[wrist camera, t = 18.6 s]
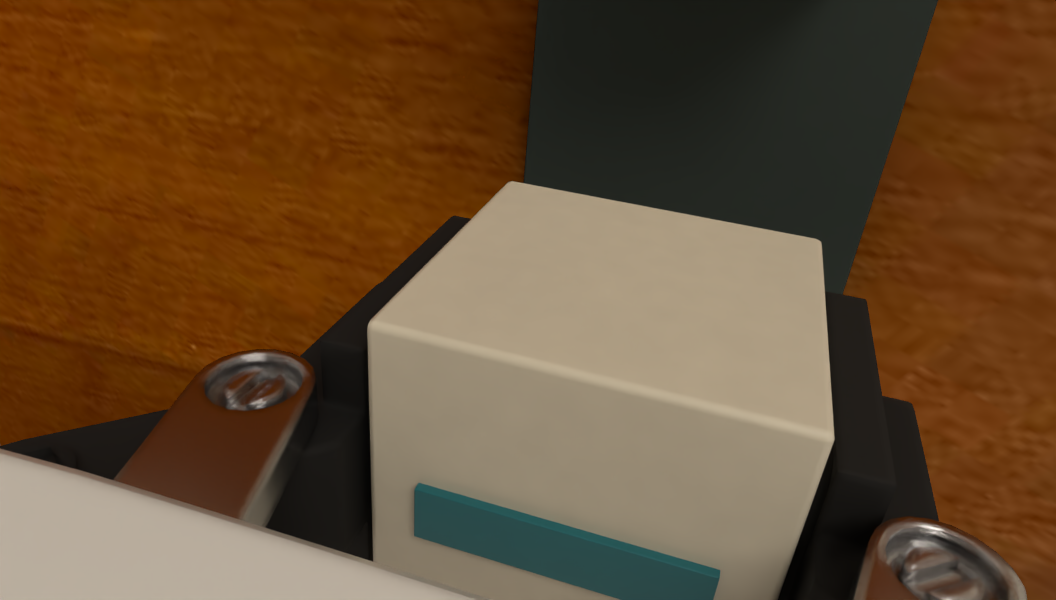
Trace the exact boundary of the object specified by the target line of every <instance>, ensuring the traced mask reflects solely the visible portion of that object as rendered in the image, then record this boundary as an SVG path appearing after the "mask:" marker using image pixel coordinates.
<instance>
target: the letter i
mask: <svg viewBox="0 0 1056 600" xmlns="http://www.w3.org/2000/svg"><path fill="white" fill-rule="evenodd" d="M367 338H368V377H369V417H370V456H371V495H372V535H373V562H376V563H379V564H382V565H385V566H388V567H391V568H395V569H398V570H401V571H404V572H407V573H410V574H413V575H417V576H420V577H423V578H426V579H429V580H432V581H435V582H439V583H442V584H445V585H448V586H451V587H454V588H457V589H460V590H464V591H467V592H470V593H473V594H476V595H479V596H482V597H485V598H489V599H492V600H778V597H779V594H780V591H781V589H782V586H783V583H784V580H785V577H786V575H787V572H788V569H789V566H790V563H791V561H792V558H793V555H794V552H795V549H796V546H797V544H798V541H799V538H800V535H801V532H802V530H803V527H804V524H805V521H806V518H807V516H808V513H809V510H810V507H811V504H812V502H813V499H814V496H815V493H816V490H817V488H818V485H819V482H820V479H821V476H822V473H823V471H824V468H825V465H826V462H827V459H828V457H829V454H830V451H831V448H832V445H833V443H834V440H835V437H834V422H833V407H832V392H831V377H830V362H829V346H828V331H827V316H826V301H825V286H824V271H823V256H822V244H821V241H819V240H817V239H814V238H809V237H804V236H799V235H793V234H788V233H783V232H777V231H772V230H767V229H762V228H756V227H751V226H746V225H741V224H735V223H730V222H725V221H720V220H714V219H709V218H704V217H698V216H693V215H688V214H683V213H677V212H672V211H667V210H662V209H656V208H651V207H646V206H641V205H635V204H630V203H625V202H620V201H614V200H609V199H604V198H598V197H593V196H588V195H583V194H577V193H572V192H567V191H562V190H556V189H551V188H546V187H541V186H535V185H530V184H525V183H519V182H514V181H511V182H508V183H507V184H506V185H505V186H504V187H503V188H502V189H501V190H500V191H499V192H498V193H497V194H496V195H495V196H494V197H493V198H492V199H491V200H490V201H489V202H488V203H487V204H486V205H485V206H484V207H483V208H482V209H481V210H480V211H479V212H478V213H477V214H476V215H475V216H474V217H473V218H472V219H471V220H470V221H469V222H468V223H467V224H466V225H465V226H464V227H463V228H462V229H461V230H460V231H459V232H458V233H457V234H456V235H455V236H454V237H453V238H452V239H451V240H450V241H449V242H448V243H447V244H446V245H445V246H444V247H443V248H442V249H441V250H440V251H439V252H438V253H437V254H436V255H435V256H434V257H433V258H432V259H431V260H430V261H429V262H428V263H427V264H426V265H425V266H424V267H423V268H422V269H421V270H420V271H419V272H418V273H417V274H416V275H415V276H414V277H413V278H412V279H411V280H410V281H409V282H408V283H407V284H406V285H405V286H404V287H403V288H402V289H401V290H400V291H399V292H398V293H397V294H396V295H395V296H394V297H393V298H392V299H391V300H390V301H389V302H388V303H387V304H386V305H385V306H384V307H383V308H382V309H381V310H380V311H379V312H378V313H377V314H376V315H375V316H374V317H373V318H372V319H371V320H370V322H369V324H368V328H367Z"/></svg>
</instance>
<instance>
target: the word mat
mask: <svg viewBox="0 0 1056 600" xmlns="http://www.w3.org/2000/svg"><path fill="white" fill-rule="evenodd" d="M937 2H938V0H539V2H538V14H537V26H536V38H535V51H534V63H533V75H532V87H531V100H530V112H529V124H528V136H527V148H526V161H525V173H524V183H525V184H530V185H535V186H541V187H546V188H551V189H556V190H562V191H567V192H572V193H577V194H583V195H588V196H593V197H598V198H604V199H609V200H614V201H620V202H625V203H630V204H635V205H641V206H646V207H651V208H656V209H662V210H667V211H672V212H677V213H683V214H688V215H693V216H698V217H704V218H709V219H714V220H720V221H725V222H730V223H735V224H741V225H746V226H751V227H756V228H762V229H767V230H772V231H777V232H783V233H788V234H793V235H799V236H804V237H809V238H814V239H817V240H819V241H821V244H822V256H823V271H824V286H825V291H826V292H831V293H836V294H841V295H842V294H843V291H844V288H845V285H846V282H847V279H848V276H849V273H850V270H851V266H852V263H853V260H854V257H855V254H856V251H857V248H858V245H859V242H860V239H861V236H862V233H863V230H864V226H865V223H866V220H867V217H868V214H869V211H870V208H871V205H872V202H873V199H874V196H875V193H876V189H877V186H878V183H879V180H880V177H881V174H882V171H883V168H884V165H885V162H886V159H887V156H888V153H889V149H890V146H891V143H892V140H893V137H894V134H895V131H896V128H897V125H898V122H899V119H900V116H901V113H902V109H903V106H904V103H905V100H906V97H907V94H908V91H909V88H910V85H911V82H912V79H913V76H914V73H915V69H916V66H917V63H918V60H919V57H920V54H921V51H922V48H923V45H924V42H925V39H926V36H927V32H928V29H929V26H930V23H931V20H932V17H933V14H934V11H935V8H936V5H937Z"/></svg>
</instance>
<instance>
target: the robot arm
mask: <svg viewBox="0 0 1056 600" xmlns="http://www.w3.org/2000/svg"><path fill="white" fill-rule="evenodd" d="M470 220H471V219H469V218H464V217H459V216H453V217H451V218H450V219H449V220H448V221H447V222H446V223H444V224H443V225H442V226H441V227H440V228H439V229H438V230H437V231H436V232H435V233H434V234H433V235H432V236H431V237H430V238H428V239H427V240H426V241H425V242H424V243H423V244H422V245H421V246H420V247H419V248H418V249H417V250H416V251H415V252H414V253H412V254H411V255H410V256H409V257H408V258H407V259H406V260H405V261H404V262H403V263H402V264H401V265H400V266H399V267H398V268H396V269H395V270H394V271H393V272H392V273H391V274H390V275H389V276H388V277H387V278H386V279H385V280H384V281H383V282H381V283H379V284H378V285H376V286H375V287H374V288H373V289H372V290H371V291H370V292H369V293H367V294H366V295H365V296H364V297H363V298H362V299H361V300H360V301H359V302H358V303H357V304H356V305H355V306H354V307H352V308H351V309H350V310H349V311H348V312H347V313H346V314H345V315H344V316H343V317H342V318H341V319H340V320H339V321H337V322H336V323H335V324H334V325H333V326H332V327H331V328H330V329H329V330H328V331H327V332H326V333H325V334H323V335H322V336H321V337H320V338H319V339H318V340H317V341H316V342H315V343H314V344H313V345H312V346H311V347H310V348H308V349H307V350H306V351H305V352H304V353H303V354H302V355H301V356H300V357H299V356H297V355H295V354H293V353H290V352H285V351H280V350H275V349H255V350H248V351H241V352H237V353H234V354H231V355H227V356H224V357H221V358H219V359H218V360H216V361H214V362H212V363H210V364H208V365H206V366H205V367H204V368H203V369H202V370H201V371H200V372H199V373H198V374H197V375H196V376H195V377H194V378H193V379H192V381H191V382H190V383H189V384H188V386H187V387H186V388H185V390H184V391H183V392H182V393H181V395H180V396H179V397H178V398H177V400H176V401H175V402H174V404H173V405H172V406H171V407H170V409H168V410H163V411H158V412H153V413H149V414H144V415H139V416H134V417H129V418H125V419H120V420H115V421H110V422H106V423H101V424H96V425H91V426H87V427H82V428H77V429H72V430H68V431H63V432H58V433H53V434H48V435H44V436H39V437H34V438H29V439H25V440H21V441H17V442H14V443H10V444H7V445H3V446H0V600H492V599H489V598H485V597H482V596H479V595H476V594H473V593H470V592H467V591H464V590H460V589H457V588H454V587H451V586H448V585H445V584H442V583H439V582H435V581H432V580H429V579H426V578H423V577H420V576H417V575H413V574H410V573H407V572H404V571H401V570H398V569H395V568H391V567H388V566H385V565H382V564H379V563H376V562H373V535H372V495H371V456H370V417H369V377H368V338H367V328H368V324H369V322H370V320H371V319H372V318H373V317H374V316H375V315H376V314H377V313H378V312H379V311H380V310H381V309H382V308H383V307H384V306H385V305H386V304H387V303H388V302H389V301H390V300H391V299H392V298H393V297H394V296H395V295H396V294H397V293H398V292H399V291H400V290H401V289H402V288H403V287H404V286H405V285H406V284H407V283H408V282H409V281H410V280H411V279H412V278H413V277H414V276H415V275H416V274H417V273H418V272H419V271H420V270H421V269H422V268H423V267H424V266H425V265H426V264H427V263H428V262H429V261H430V260H431V259H432V258H433V257H434V256H435V255H436V254H437V253H438V252H439V251H440V250H441V249H442V248H443V247H444V246H445V245H446V244H447V243H448V242H449V241H450V240H451V239H452V238H453V237H454V236H455V235H456V234H457V233H458V232H459V231H460V230H461V229H462V228H463V227H464V226H465V225H466V224H467V223H468V222H469V221H470ZM825 301H826V316H827V331H828V346H829V362H830V377H831V392H832V407H833V422H834V437H835V440H834V443H833V445H832V448H831V451H830V454H829V457H828V459H827V462H826V465H825V468H824V471H823V473H822V476H821V479H820V482H819V485H818V488H817V490H816V493H815V496H814V499H813V502H812V504H811V507H810V510H809V513H808V516H807V518H806V521H805V524H804V527H803V530H802V532H801V535H800V538H799V541H798V544H797V546H796V549H795V552H794V555H793V558H792V561H791V563H790V566H789V569H788V572H787V575H786V577H785V580H784V583H783V586H782V589H781V591H780V594H779V597H778V600H1027V596H1026V592H1025V587H1024V586H1023V584H1022V583H1021V581H1020V579H1019V578H1018V576H1017V574H1016V573H1015V571H1014V570H1013V568H1012V567H1011V566H1010V565H1009V564H1008V563H1007V562H1006V561H1005V560H1004V559H1003V558H1002V557H1001V556H1000V555H999V554H998V553H997V552H996V551H994V550H993V549H991V548H990V547H989V546H987V545H986V544H984V543H983V542H982V541H980V540H979V539H977V538H976V537H974V536H972V535H970V534H968V533H966V532H964V531H962V530H960V529H958V528H956V527H954V526H952V525H949V524H945V523H942V522H939V519H938V515H937V510H936V506H935V501H934V497H933V492H932V488H931V483H930V479H929V474H928V470H927V465H926V461H925V456H924V452H923V447H922V443H921V438H920V434H919V429H918V425H917V420H916V416H915V411H914V408H913V406H912V404H911V403H909V402H906V401H902V400H898V399H893V398H889V397H885V396H882V392H881V386H880V380H879V374H878V368H877V362H876V356H875V350H874V343H873V337H872V331H871V325H870V319H869V313H868V307H867V302H866V300H865V299H860V298H856V297H851V296H846V295H841V294H836V293H831V292H826V291H825Z"/></svg>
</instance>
